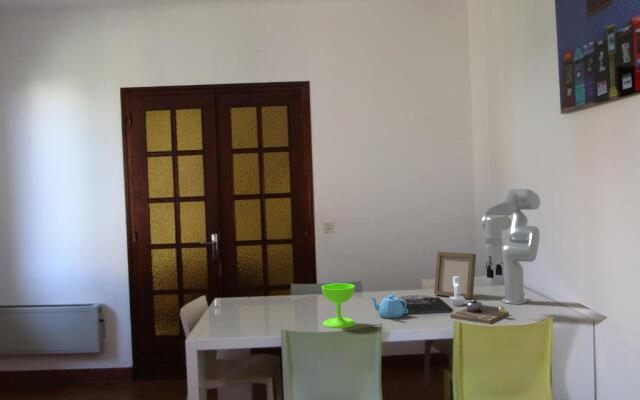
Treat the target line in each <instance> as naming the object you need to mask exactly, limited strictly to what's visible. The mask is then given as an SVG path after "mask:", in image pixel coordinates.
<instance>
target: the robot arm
mask: <svg viewBox="0 0 640 400" xmlns="http://www.w3.org/2000/svg"><path fill="white" fill-rule="evenodd" d="M540 205H541V199H540V196H539V194H537V193H536V192H535V191H533V190H532V189H529V188H514V189H509V190H507V191H506V192H505V193H504V196H503V198H502V199H501V201H500V202H499V203H497V204H495V205H493V206H491V207H489V208H487V209H486V210H485V212H484V214H483V216H482V217H481V220H480V221H481V222H480V223H481V227H482V228H483V230H485V253H484V264H485V267H486V278H488V279H494V275H496V276H503V267H504V298H502V299H501V300H502V303H504V304H510V305H523V304H524V305H525V304H526V303H528V300H527V299H526V298H525V296H526V293H525V291H524V289H525V288H524V268H523V266H522V264H521V262H525V263H528V262H529V263H531V262H534V261H535V260H536V258H537V255H538V250H539V244H540V237H541V236H540V235H541V234H540V229H539V227H537V226H534V225H528V222H529V221H528V218H527V216H526V215H525V214H524V212H523V211H524V210H527V211H529V210H530V211H533V210H537V209H539V207H540ZM506 230H507V231H508V234H507V235H508V237H507V239H508V241H509V242H507V243H505V244H504V245H503V234H502V231H506ZM494 266H495V274H494Z"/></svg>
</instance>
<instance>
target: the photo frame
mask: <svg viewBox="0 0 640 400" xmlns="http://www.w3.org/2000/svg"><path fill="white" fill-rule="evenodd" d="M476 259H477V254H476V253H468V252H467V253H466V252H465V253H464V252H450V251H449V252H448V251H437V255H436V265H435V266H436V267H435V268H436V269H435V277H434V278H435V279H434V281H435V282H434V291H433V292H434V293H433V295H435V296H436V295H438V296H446V297H453V296H454V286H453V277H454V276H456V277H458V276H459V280H460V282H459V283H460V284H459V285H460V286H461V294H460V296H463V297H464V298H465V299H471V300H474V287H475V276H476Z"/></svg>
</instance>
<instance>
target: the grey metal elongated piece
mask: <svg viewBox="0 0 640 400" xmlns="http://www.w3.org/2000/svg"><path fill="white" fill-rule="evenodd" d="M466 308H467V311H468V312H481V311H482V310H487V311H494V312H499V313H504V312H505V311H506V309H505V307H504V306H494V305H486V304H483V303H482V302H481V301H477V299H471V300H470V301H467V302H466Z"/></svg>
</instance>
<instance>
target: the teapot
mask: <svg viewBox="0 0 640 400" xmlns="http://www.w3.org/2000/svg"><path fill="white" fill-rule="evenodd" d="M394 295H395V294H394V292H393V291H391V293H390V294H389V295H387V297H384V298H383V299H381V302H380V303H379V304H377V299H376V298H375V297H373V296H369V298H371V300H372V301H373V306H374V309H375V310H376V312H377V313H378V315H379V316H380V317H381V318H384V319H385V318H386V319H397V318H398V319H399V318H402V316H403V315H404V314H408V313H409V310H408V308H407V301H406V300H405V299H402V298H401V299H399V298H398V297H394ZM402 302H403V303H404V305H403V303H402Z"/></svg>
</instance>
